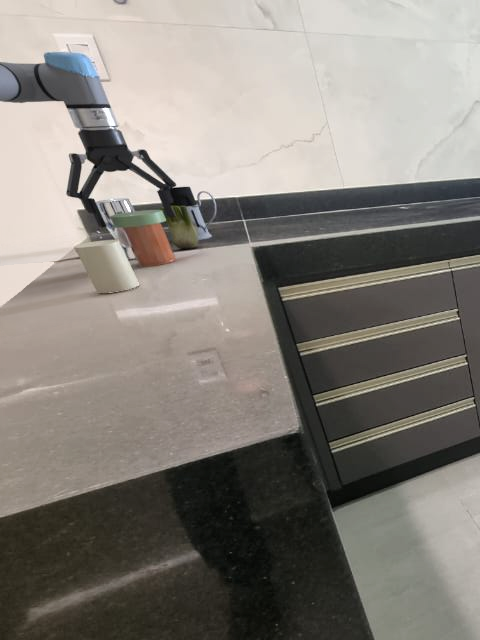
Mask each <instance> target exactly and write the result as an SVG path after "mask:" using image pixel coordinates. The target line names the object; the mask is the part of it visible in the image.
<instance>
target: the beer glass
mask: <svg viewBox="0 0 480 640" xmlns="http://www.w3.org/2000/svg"><path fill="white" fill-rule="evenodd" d="M95 202H96V204H97V206H98V208H99V211H100V213H101V215H102V217H103V219H104V222H105V224H106V226H107V227H106V229H107V230H108V232H109V233H110V234H111V236H112V237H113V238H114V240H119V242H120V244H121V246H122V248H123V250H124V253H125V255H126V257H127V259H128V261H131V260H136V258H135V255H134V253H133V251H132V249H131V247H130V245H129V243H128V240H127V238H126V236H125V234H124V232H123V230H122V228H117V227H114V225H113V223H112V220H111V218H110V216H112V215H116V214H121V213H127V212H135V211H136V210H135V208H134V206H133V205H132V202H131V200H130V199H129V198H126V197H125V198H110V199H109V198H108V199H103V200H97V201H95Z"/></svg>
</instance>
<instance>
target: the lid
mask: <svg viewBox="0 0 480 640" xmlns="http://www.w3.org/2000/svg"><path fill="white" fill-rule="evenodd" d="M110 218H111V220H112V223H113V225H114V227H117V228H125V227H137V226H145V225H151V224H157V223H161V224H162V223H164V222H167V221H166V218H165V216H164V213H163V211H162V210H161V209H146V210H145V209H144V210H135V212H127V213H121V214H116V215H112V216H110Z"/></svg>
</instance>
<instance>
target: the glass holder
mask: <svg viewBox="0 0 480 640" xmlns="http://www.w3.org/2000/svg"><path fill="white" fill-rule="evenodd" d="M158 191H161V189H158ZM169 191H170V194H171V196H172V199H173V203H170V206H171V208H172V210H173V207H172V206H178V207H179V209H180V211H181V208H180V206H186V208H187V211H188V214H189V217H190V219H191V221H192V223H193V225H194V227H195V230H196V232H197V236H198V241H201V240H207V239H210V238H212V237H213V236H212V234H211V233H210V232H209V230H208V227H209V226H210V225H211V223H212V221H214V219H215V217H216V216H217V203H216V200H215V197H214V196H213V194H212V193H211V192H208V191H206V190H202V191H201V190H200V191H199V192H198V193H197V196H196V199H197V201H198V202H197V201H196V199H195V196H194V194H193V191H192V188H191V187H190V186H176V187H173V188H171V189H170V190H169ZM203 193H205V194H207V195H209V197H210V198H211V200H212V203H213V208H214V209H213V215H212V217H211V218H210V219H209V221H208V222H207V223H206V222H205V219H204V218H203V217H204V216H203V214H202V212H201V209H200V207H201V206H202V201H201V194H203ZM173 212H174V210H173ZM174 214H175V212H174ZM181 214H182V212H181ZM175 216H176V214H175ZM182 216H183V215H182ZM176 218H177V217H176ZM177 220H178V219H177Z"/></svg>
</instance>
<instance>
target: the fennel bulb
mask: <svg viewBox="0 0 480 640" xmlns="http://www.w3.org/2000/svg"><path fill="white" fill-rule="evenodd" d="M172 207H173V210H174V212H175V214H176V216H175V214H174V216H175V217H173V218H171V217H167V215H166V212H165V210H164V207H163V206H162V207H160V209H159V210H162V211H163V213H164V216H165V218H166V221H165V222H166V224H167V227H168V233H169V236H170V239H171V241H172V244H173V245H174V246H175V247H176V248H177V249H181V250H189V249H193V248H197V247H198V246H199V240H198V236H197V232H196V230H195V227H194V225H193V223H192V221H191V219H190V217H189V214H188V211H187V208H186V206H180V208H181V211H180V209H179V207H178V206H172ZM173 210H172V211H173ZM174 212H173V213H174ZM181 212H182V214H181ZM182 215H183V216H182ZM176 217H177V218H176ZM177 219H178V220H177Z"/></svg>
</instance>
